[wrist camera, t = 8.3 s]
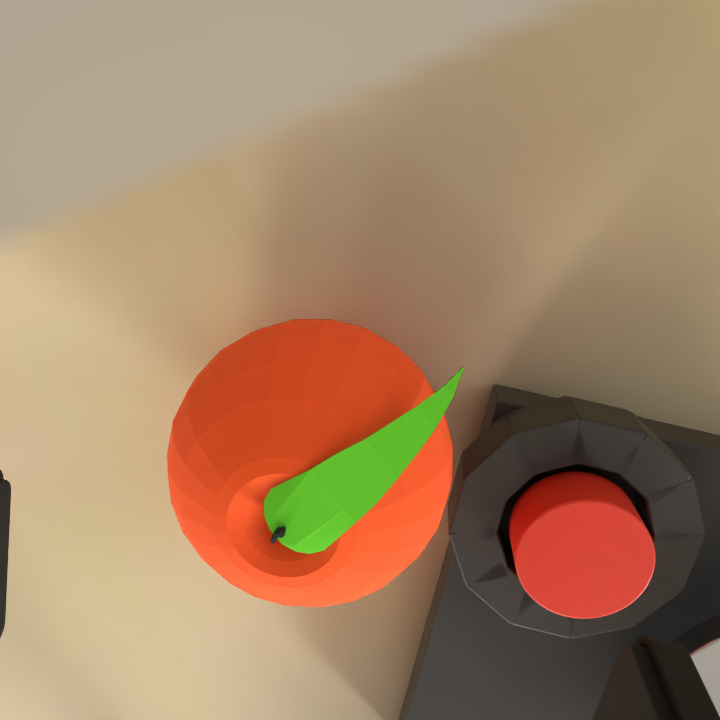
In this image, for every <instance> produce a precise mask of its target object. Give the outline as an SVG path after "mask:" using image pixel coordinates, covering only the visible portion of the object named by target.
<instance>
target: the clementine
mask: <svg viewBox="0 0 720 720" xmlns="http://www.w3.org/2000/svg"><path fill="white" fill-rule="evenodd" d="M464 367H465V366H464ZM464 367H462V368H461V369H460V370H459V371H458V372H457V373H456V374H455V375H454V376H453V377H452V378H451V379H450V380H449V381H448V382H447V383H446V384H445V385H444V386H443V387H442V388H441V389H439V390H438V391H436V392H434V390H433V389H432V387H431V385H430V384H429V382H428V380H427V379H426V377H425V375H424V374H423V372H422V370H421V369H420V368H419V367H417V366H416V365H415V364H414V363H413V362H412V361H411V360H410V359H409V358H408V357H407V356H406V355H405V354H404V353H403V352H402V351H401V350H400V349H399V348H398V347H397V346H395V345H394V344H392V343H390V342H388V341H387V340H385V339H383V338H381V337H379V336H378V335H376V334H374V333H372V332H371V331H369V330H367V329H365V328H361V327H358V326H354V325H350V324H346V323H343V322H339V321H335V320H331V319H295V320H291V321H287V322H284V323H280V324H276V325H272V326H269V327H265V328H262V329H259V330H256V331H254V332H251V333H249V334H248V335H246V336H244V337H243V338H241V339H239V340H238V341H236V342H234V343H233V344H231V345H229V346H227V347H226V348H224V349H222V350H221V351H220V352H219V353H218V354H217V355H216V356H215V357H214V358H213V359H212V360H211V361H210V362H209V364H208V365H207V366H206V367H205V368H204V369H203V370H202V371H201V372H200V373H199V374H198V375H197V377H196V378H195V380H194V382H193V383H192V385H191V386H190V388H189V390H188V391H187V393H186V395H185V397H184V400H183V402H182V404H181V406H180V408H179V410H178V412H177V414H176V416H175V418H174V420H173V424H172V430H171V435H170V441H169V447H168V453H167V459H168V478H169V486H170V495H171V503H172V506H173V508H174V511H175V513H176V516H177V518H178V521H179V523H180V526H181V528H182V531H183V533H184V534H185V536H186V537H187V539H188V540H189V541H190V543H191V544H192V546H193V547H194V548H195V550H196V551H197V553H198V554H199V555H200V557H201V558H202V559H203V560H204V561H205V562H206V563H207V564H208V565H210V566H211V567H212V568H213V569H214V570H215V571H216V572H218V573H219V574H220V575H221V576H222V577H223V578H224V579H226V580H227V581H228V582H229V583H230V584H232V585H234V586H236V587H238V588H239V589H241V590H243V591H245V592H247V593H249V594H251V595H252V596H254V597H257V598H260V599H264V600H267V601H271V602H274V603H278V604H281V605H291V606H310V607H324V606H330V605H335V604H341V603H346V602H352V601H355V600H357V599H359V598H361V597H363V596H366V595H368V594H370V593H372V592H374V591H377V590H379V589H381V588H383V587H384V586H385V585H386V584H387V583H389V582H390V581H391V580H392V579H393V578H395V577H396V576H397V575H398V574H399V573H401V572H402V571H403V570H404V569H405V568H407V567H408V566H409V565H410V564H411V563H412V562H413V561H414V560H415V559H416V558H417V557H419V555H420V554H421V552H422V551H423V550H424V548H425V547H426V545H427V544H428V542H429V541H430V539H431V538H432V536H433V535H434V533H435V532H436V531H437V529H438V527H439V523H440V520H441V517H442V514H443V511H444V508H445V505H446V502H447V498H448V495H449V491H450V487H451V483H452V476H453V443H452V439H451V436H450V432H449V428H448V425H447V421H446V417H445V414H444V413H445V411H446V409H447V408H448V406H449V404H450V402H451V400H452V399H453V397H454V394H455V391H456V389H457V386H458V383H459V380H460V378H461V375H462V372H463V369H464Z"/></svg>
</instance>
